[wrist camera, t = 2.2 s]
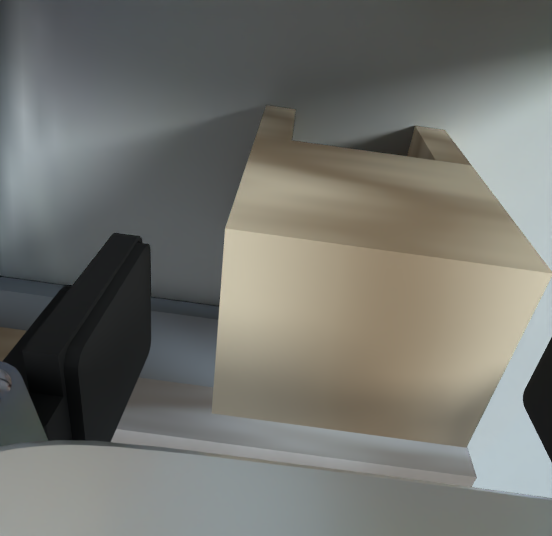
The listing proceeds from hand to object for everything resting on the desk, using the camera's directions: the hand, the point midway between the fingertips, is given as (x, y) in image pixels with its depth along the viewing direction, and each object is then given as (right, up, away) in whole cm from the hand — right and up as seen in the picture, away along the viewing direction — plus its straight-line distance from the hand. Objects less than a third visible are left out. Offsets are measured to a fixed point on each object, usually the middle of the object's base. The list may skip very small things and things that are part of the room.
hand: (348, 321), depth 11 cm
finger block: (0, +4, +5) cm, 6 cm away
